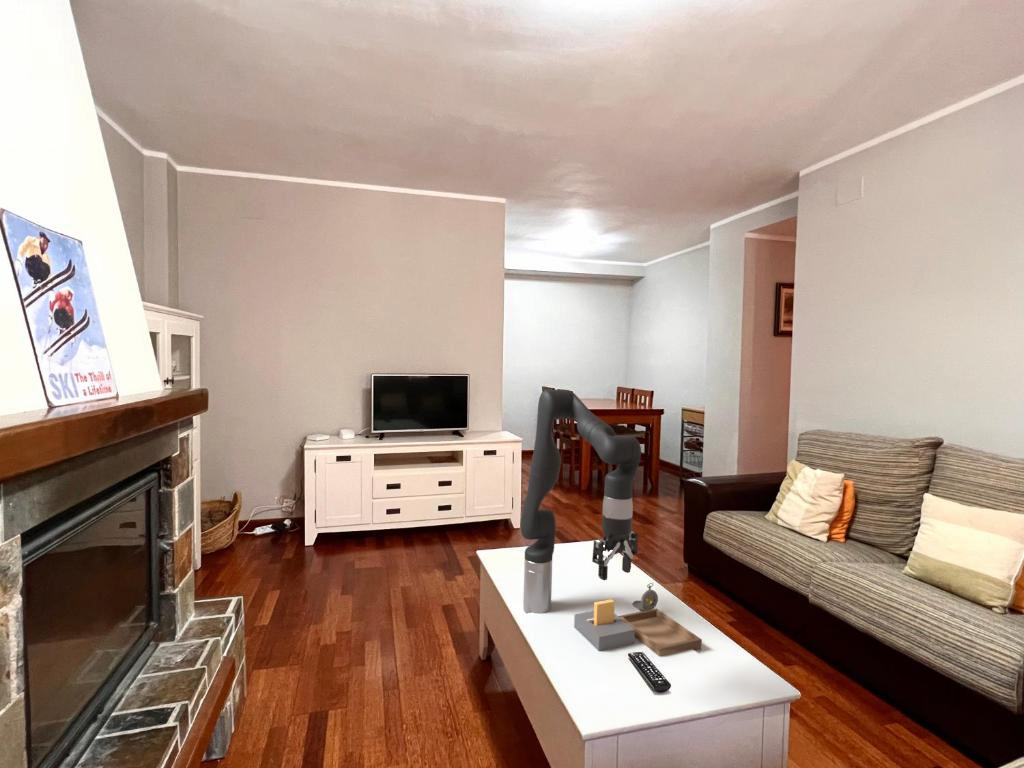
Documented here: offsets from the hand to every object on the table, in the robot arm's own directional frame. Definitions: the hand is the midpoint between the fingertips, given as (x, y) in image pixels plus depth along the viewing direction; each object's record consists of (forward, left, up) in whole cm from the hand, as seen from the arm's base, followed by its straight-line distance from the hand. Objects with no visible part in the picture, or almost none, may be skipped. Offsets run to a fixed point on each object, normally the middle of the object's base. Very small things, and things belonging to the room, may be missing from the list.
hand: (614, 575), depth 131 cm
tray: (-13, +25, -27) cm, 39 cm away
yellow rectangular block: (-18, +9, -26) cm, 33 cm away
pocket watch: (-29, +32, -27) cm, 51 cm away
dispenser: (-18, +9, -27) cm, 34 cm away
